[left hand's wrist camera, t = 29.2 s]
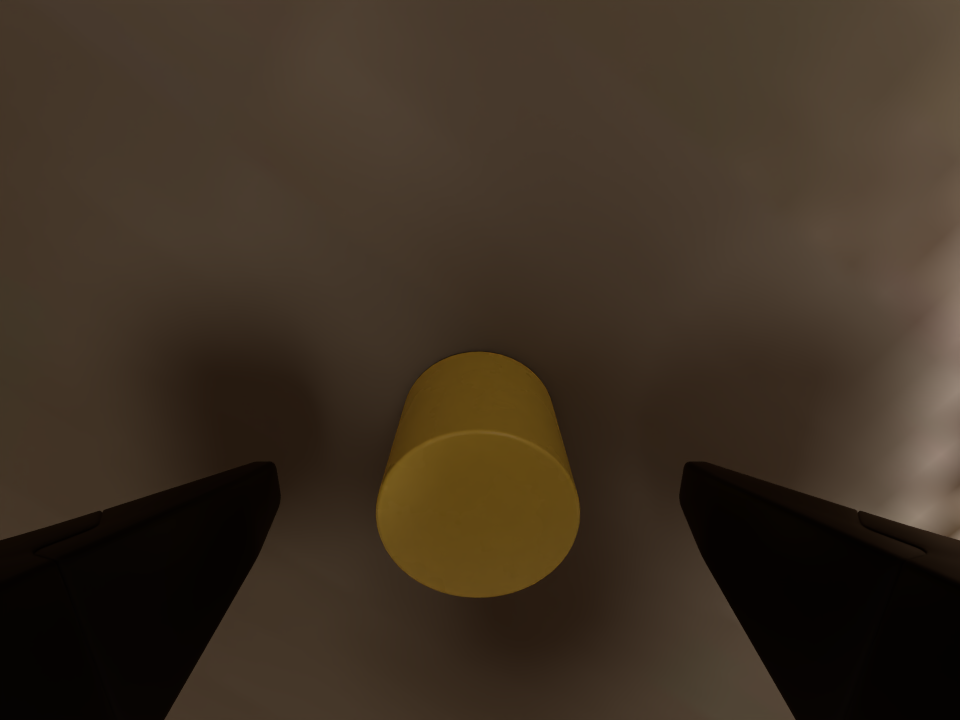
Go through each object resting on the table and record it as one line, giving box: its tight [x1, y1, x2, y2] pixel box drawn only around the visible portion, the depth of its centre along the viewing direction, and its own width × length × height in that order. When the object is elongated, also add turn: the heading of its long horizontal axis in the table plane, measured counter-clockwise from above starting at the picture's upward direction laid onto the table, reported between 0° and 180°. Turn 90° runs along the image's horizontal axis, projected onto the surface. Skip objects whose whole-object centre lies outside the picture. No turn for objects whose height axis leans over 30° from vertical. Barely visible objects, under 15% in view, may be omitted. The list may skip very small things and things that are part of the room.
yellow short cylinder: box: [376, 352, 580, 598], centre depth 13 cm, size 4×4×4 cm
